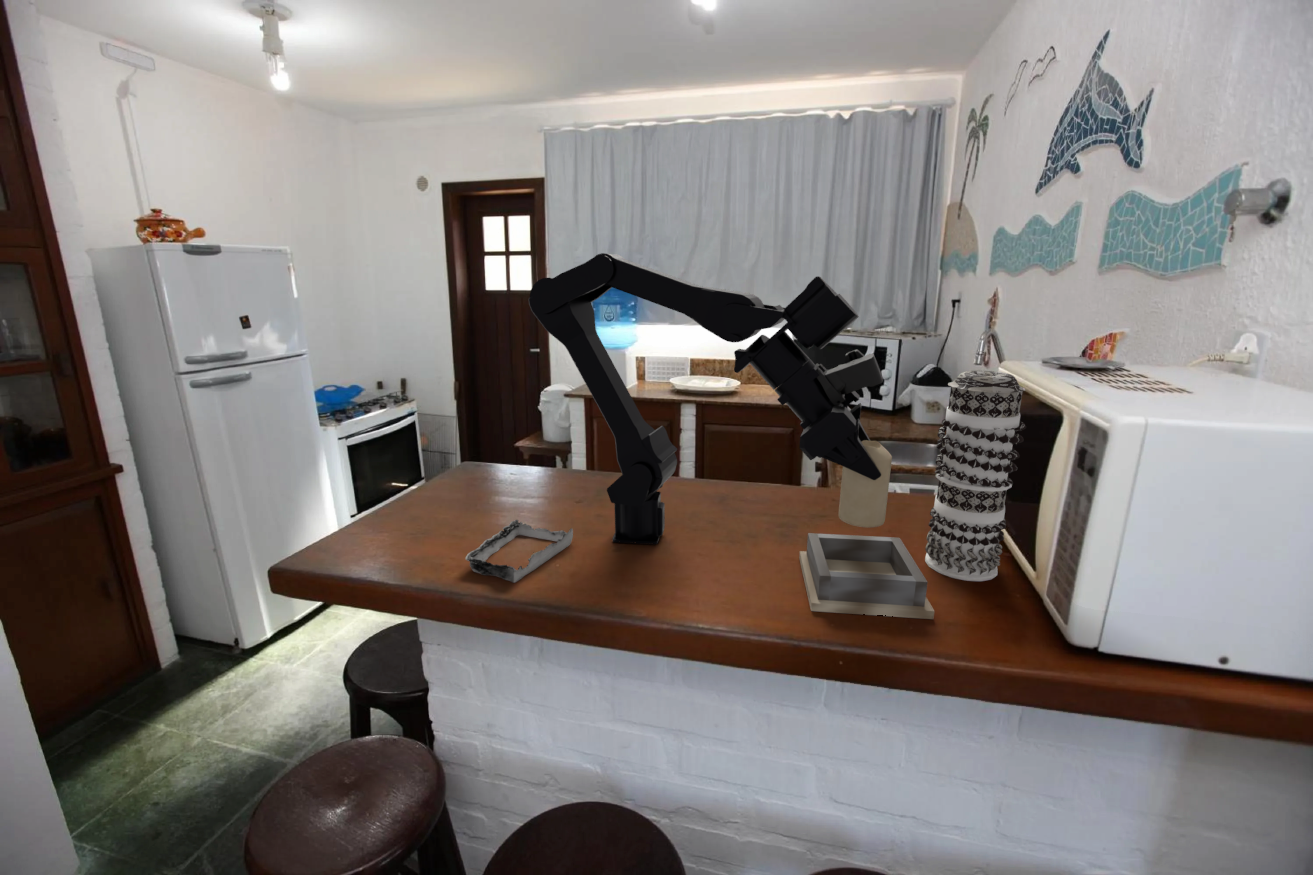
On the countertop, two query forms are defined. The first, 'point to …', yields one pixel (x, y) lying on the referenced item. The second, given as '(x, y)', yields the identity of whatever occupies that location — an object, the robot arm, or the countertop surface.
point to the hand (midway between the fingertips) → (878, 470)
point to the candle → (866, 491)
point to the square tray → (863, 576)
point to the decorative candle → (974, 475)
